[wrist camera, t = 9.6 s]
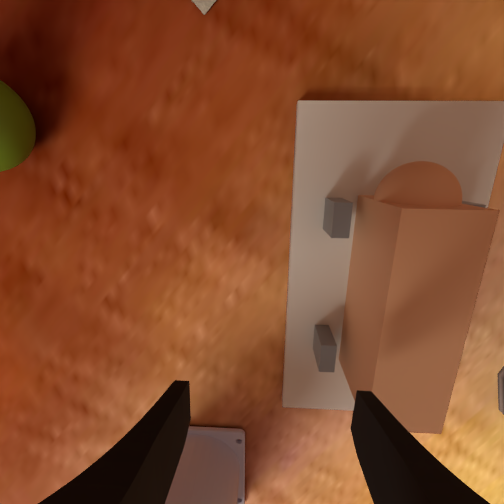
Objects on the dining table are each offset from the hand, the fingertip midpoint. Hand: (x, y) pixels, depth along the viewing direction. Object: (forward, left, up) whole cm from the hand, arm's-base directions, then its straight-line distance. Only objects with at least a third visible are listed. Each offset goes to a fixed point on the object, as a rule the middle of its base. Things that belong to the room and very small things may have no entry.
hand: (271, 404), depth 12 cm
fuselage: (+3, -7, -8) cm, 12 cm away
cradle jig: (+3, -7, -9) cm, 12 cm away
